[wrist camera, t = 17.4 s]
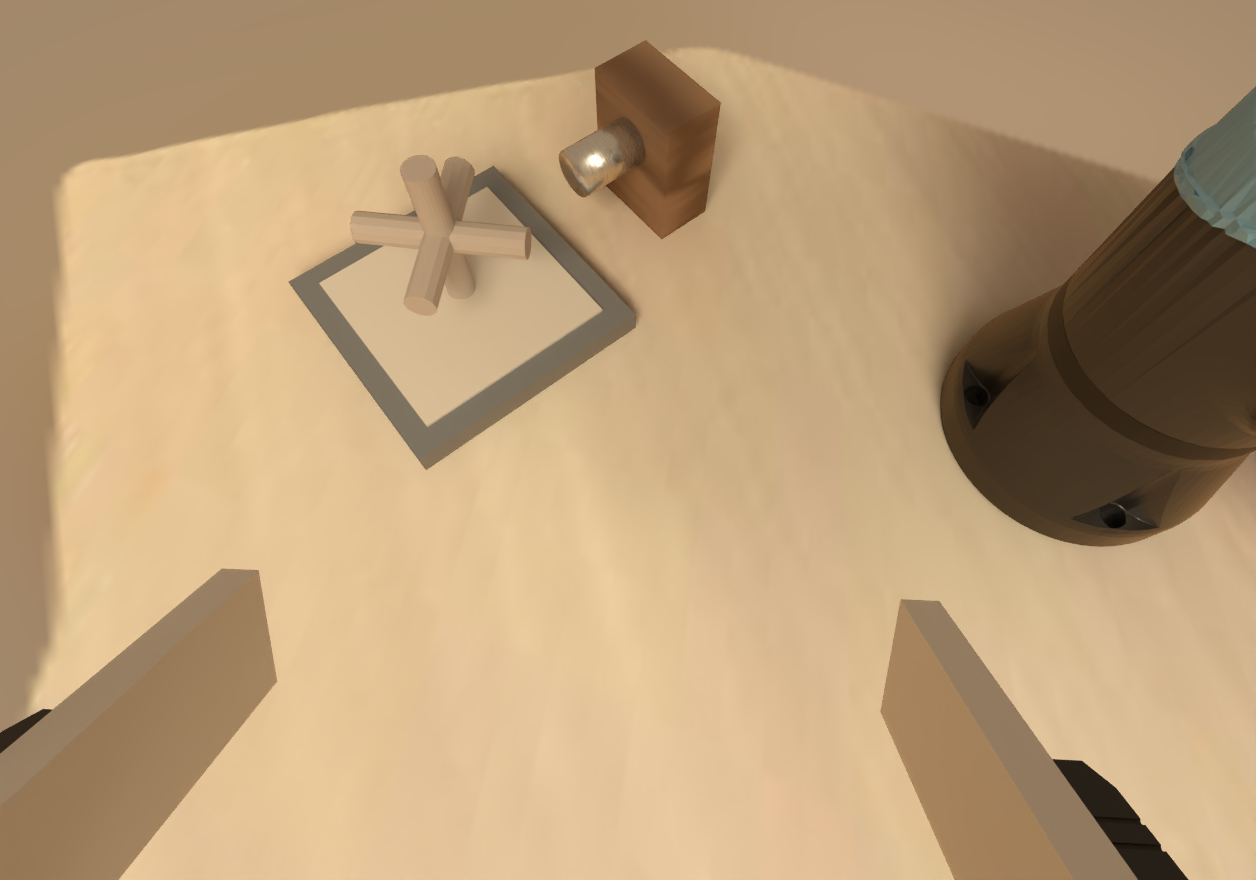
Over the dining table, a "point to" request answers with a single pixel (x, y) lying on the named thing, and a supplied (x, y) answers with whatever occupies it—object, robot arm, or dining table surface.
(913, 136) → the dining table surface
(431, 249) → the pipe connector
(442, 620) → the dining table surface
